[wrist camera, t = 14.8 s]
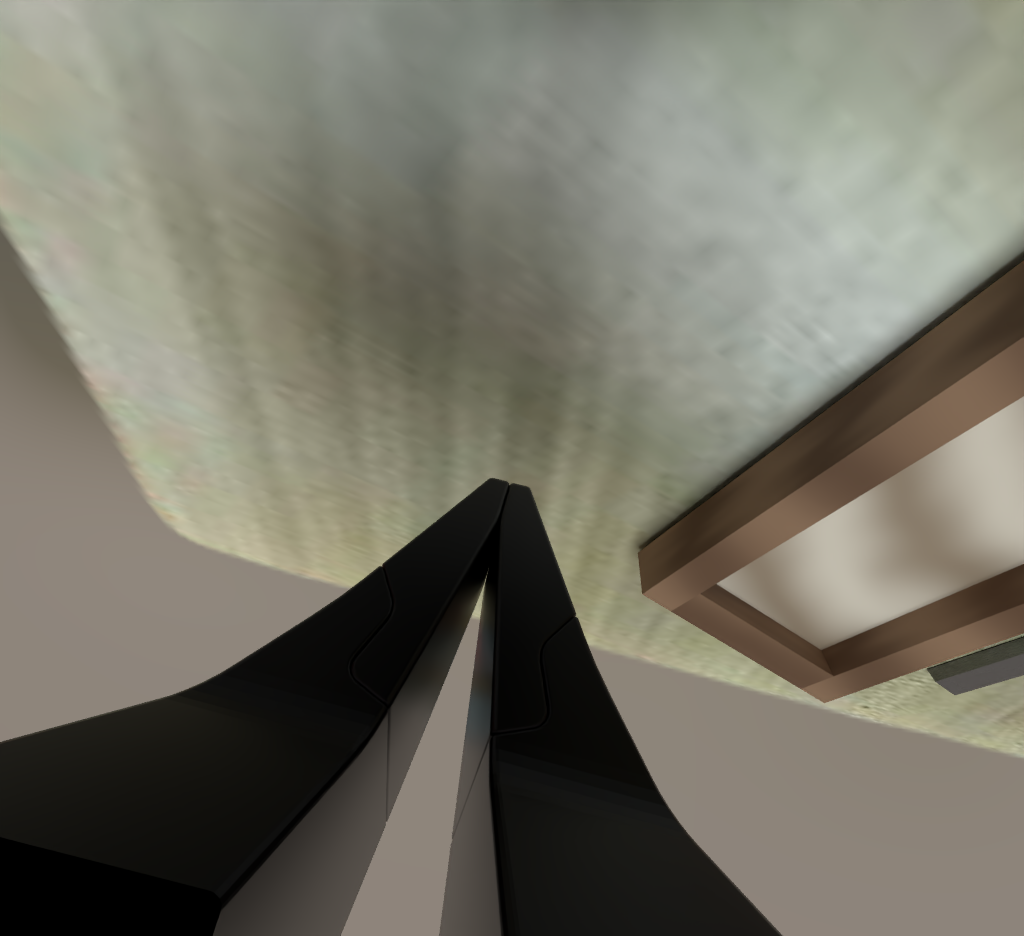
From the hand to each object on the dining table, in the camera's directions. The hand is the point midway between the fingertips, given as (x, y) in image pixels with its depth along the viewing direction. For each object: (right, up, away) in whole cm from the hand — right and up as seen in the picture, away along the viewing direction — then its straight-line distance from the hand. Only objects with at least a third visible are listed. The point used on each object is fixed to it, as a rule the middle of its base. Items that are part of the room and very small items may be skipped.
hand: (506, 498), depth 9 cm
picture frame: (+20, -2, +11) cm, 23 cm away
